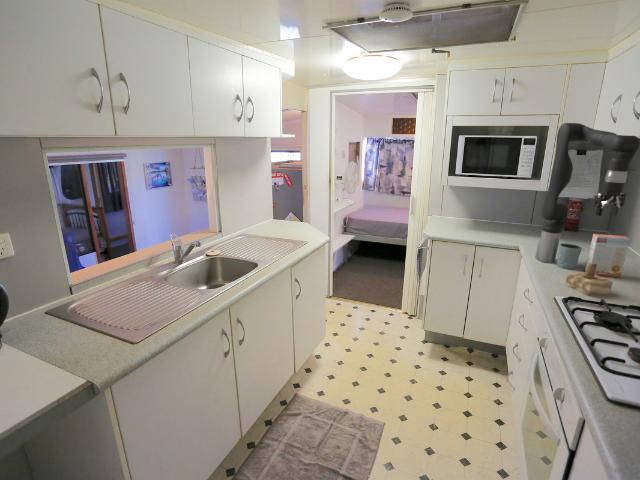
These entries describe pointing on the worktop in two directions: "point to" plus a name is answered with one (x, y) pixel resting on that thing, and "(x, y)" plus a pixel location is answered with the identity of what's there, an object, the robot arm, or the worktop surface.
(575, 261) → the teal ceramic cylinder
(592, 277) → the walnut peg
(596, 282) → the oak bore block
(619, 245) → the cracker box
